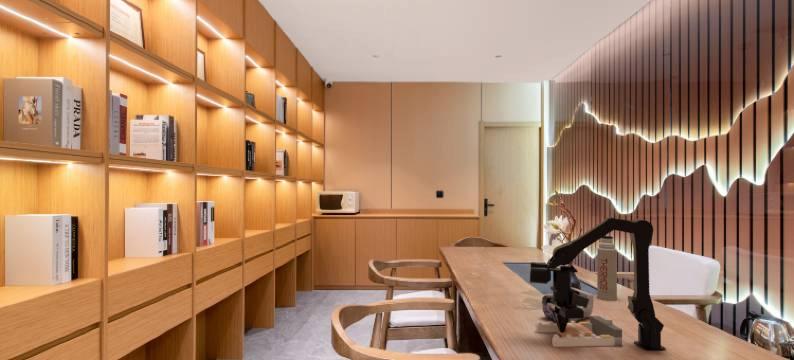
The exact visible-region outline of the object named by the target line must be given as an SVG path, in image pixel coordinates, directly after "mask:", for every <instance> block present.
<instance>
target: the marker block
mask: <svg viewBox="0 0 794 360" xmlns="http://www.w3.org/2000/svg"><path fill="white" fill-rule="evenodd" d="M558 334H559V336H560V337H566V334H569V335H571V337H578V334H582V335H584V337H588V336H591V334H594V332H591V331H590V330H588V329H587V328H585V327H584V326H582V325H580V324H579V322H576V323H567V325H566V328H565V331H564V333H561V332H560V331H559V329H558V332H557V335H558Z"/></svg>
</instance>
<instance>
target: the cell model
mask: <svg viewBox="0 0 794 360" xmlns="http://www.w3.org/2000/svg"><path fill="white" fill-rule="evenodd" d="M571 288H572V289H574V290H576V291H579V292H580V295H581V296H584V297H586V298H588V299H589V302H588V305H587V308H584V307H583V306H580V305H577V304H575V306H577V307H579V308H581V309H582V310H583V311H584V318H571V319H569V320H568V323H571V321H574V322H576V323H578V322H579V320H584V319H586V318H587V317H590V316H592V313H593V309H594V294H593V293H590V292H587V291H585V290H580V289H578V288H576V287H572V286H571ZM541 305H542V309H541V310H542V312H543V314H544V317H546V318H548V319H550V321H554V322H555V320H554V318H553V315H552V313H551V311H550V310H549V308H552V305H551V303H548V304H547V305H544V304H543V303H542V302H541ZM570 306H572V305H570Z"/></svg>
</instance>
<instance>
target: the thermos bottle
mask: <svg viewBox="0 0 794 360" xmlns="http://www.w3.org/2000/svg"><path fill="white" fill-rule="evenodd" d="M613 240H614V236H612V235H605V236H604V237H602V238H601V239H600V241H599V243H598V247H597V249H596V251H597V253H596V256H597V257H596V258H597V260H596V261H597V264H596V265H597V266H596V268H597V269H596V271H597V273H596V274H597V283H596V286H597V287H596V289H597V292H596V293H597V294H596V295H597V299H599V300H603V301H617V300H618V255H617V254H618V253H617V252H618V249H617V248H616V244H615V243H614V241H613Z"/></svg>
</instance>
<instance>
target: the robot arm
mask: <svg viewBox="0 0 794 360" xmlns="http://www.w3.org/2000/svg"><path fill="white" fill-rule="evenodd" d="M613 231H619V232H624V233H629V238H630V241H631V242H630V243H631V244H632V249H633V252H632V253H633V294H632V296H631V295H627V299H628V305H627V310H629V312H630V314H631V316H632V317H634V318H635V320H636V321H637V322H638V325H637V326H638V328H637V336H638V337H637V341H636V340H634V341H633V344H635V345H636V346H639V347H640V348H642V349H644V350H645V351H661V350H663V351H664V350H665V351H666V350H667V348H666V347H665V346H663V345H662V332H663V329H664V323H663V322H661V320H659V318H657V317H656V312H655V307H654V303H653V300H652V297H651V293H650V261H649V259H650V257H649V254H650V253H649V249H650V246H651V243H652V241H653V235H654V226H653V224H652V223H651V222H650V221H649V220H646V219H642V218H634V219H632V220H628V219H622V218H615V217H612V216H608V217H606V218H604V220H602V221H601V222H600V223H598V224H596V225H595V226H594V227H591V228H590V229H588V230H587V231H586V232H584V233H582V234H581V235H580V236H578V237H576V238H575V239H573V240H570V241H568V242H565V243H562V244H560V245H558V246H556V247H555V248H553V250H552V256H551V257H550V258H549V259H548V260H547V262H546V263H540V262H539V263H538V262H533V261H531V262H530V270H529V283H530V284H540V285H541V284H542V285H547V284H548V283H550V282H551V281H552V285H551V286H550V290H551V291H552V294H549V295H548V294H547V295H545V294H544V295H543V296H542V298H541V304H542V303H543V304H544V305H547V304H548V303H551V305H552V308H549V310H550V311H551V313H552V315H553V318H554V320H555V321H554V320H553V321H554V322H555V324H557V326H558V329H559V331H560V332H561V333H564V331H565V328H566V325H567V323H568V320H569V319H571V318H584V311H583V310H582V309H581V308H579V307H577V306H575V304H577V305H580V306H583V307H584V308H587V305H588V302H589V299H588V298H586V297H584V296H581V295H580V292H579V291H576V290H574V289H572V288H573V287H572V273H578V272H579V271H578V269H577V268H576V267H575V266H574V264H573V263H572V262H573V261H574V260H575V259H576V258H577V257H578V255H580V254H581V253H582V252H583V251H584V250H585V249H586V248H588V247H590V246H591V245H592V244H595V243H596V242H597V241H598V240H601V238H602V237H604V236H608V235H609V234H610V233H611V232H613ZM570 263H571V264H570ZM567 265H568V266H567ZM571 287H572V288H571ZM570 305H572V306H570ZM584 319H585V318H584Z"/></svg>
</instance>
